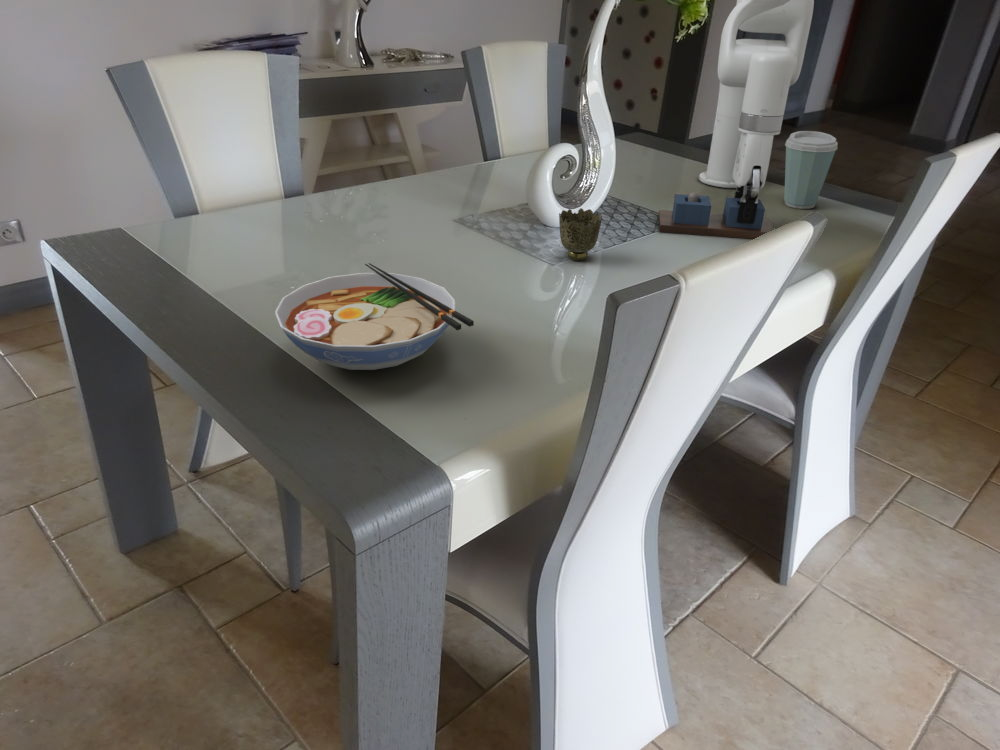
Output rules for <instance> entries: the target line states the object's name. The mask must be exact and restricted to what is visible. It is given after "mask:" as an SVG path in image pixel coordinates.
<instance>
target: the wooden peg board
mask: <svg viewBox="0 0 1000 750" xmlns="http://www.w3.org/2000/svg"><path fill="white" fill-rule="evenodd" d="M688 195H689V196H688V202H698V199H699V196H700V195H699V193H698V192H696V191H692V192H690V193H689V194H688ZM740 202H742V198H741V200H740ZM672 213H673V210H665V209H658V214H657V219H658V231H659V233H664V234H665V233H666V234H679V235H681V234H682V235H693V236H708V237H721V238H732V239H733V238H735V239H738V238H739V239H747V240H748V239H749V240H756V239H755V238H757V237H759V236H761V235H763V234H765V233H767V232H769V231H772V230H774V229H775V227H774V225H773V222H772V221H771V219H770V217H766V216H764V217H763V222H762V227H761V229H752V228H751V229H750V228H736V227H726V224H725V222H724V219H723V213H711V212H710V218H709V224H708V226H706V225H692V224H678V223H674V220H673V214H672Z"/></svg>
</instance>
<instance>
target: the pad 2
mask: <svg viewBox="0 0 1000 750" xmlns="http://www.w3.org/2000/svg"><path fill="white" fill-rule="evenodd" d="M740 200H741V198H734V197H725V202H724V208H723V212H722V214H723V219H724V222H725V224H726V227H736V228H750V229H751V228H752V229H761V227H762V222H763V217H765V212H766V208H765V206H764V205H763V202H762V201H761V199H758V205H757V210H756V215H755V220H754V223H753V224H746V223H738V222H737V216H738V211H739V206H740Z"/></svg>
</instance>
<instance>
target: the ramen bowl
mask: <svg viewBox="0 0 1000 750" xmlns="http://www.w3.org/2000/svg"><path fill="white" fill-rule="evenodd" d="M364 265H365V266H366V267H367V268H368V269H370V270H372V271H373V272H357V273H349V274H342V275H334V276H328V277H325V278H321V279H318V280H316V281H313V282H309V283H307V284H303V285H301V286H299V287H298V288H296V289H294V290H293V291H291V292H290V293H288V294H286V295H285V296H283V297H282V298H281V299H280V301H279V303H278V305H277V307H276V308H275V310H274V315H275V317H276V320H277V322H278V324H279V327H280V329H281V330H282V332H283V333H284V334H285V335H286V337H287V338H288V339H289V340H290V341H291V342H292V343H293V344H294V345H295V346H296V347H297V348H298V349H300V350H301V351H302V352H304V353H305V354H306V355H308V356H310V357H312V358H314V359H315V360H317V361H319V362H321V363H322V364H326V365H328V366H332V367H337V368H340V369H346V370H349V371H359V370H360V371H376V370H381V369H386V368H391V367H392V368H393V367H397V366H399V365H402V364H404V363H406V362H409V361H412V360H413V359H415V358H417V357H420V356H421V355H423V354H424V353H425V352H426V351H427V350H428V349H429V348H430V347H432V346H433V344H435V343H436V342H437V340H439V339H440V337H441V336H442V335H444V333H445V331H446V330H447V328H448V327H449V326H450V327H452V328H453V329H454V330H456V331H459V330H462V324H461V323H463V324H464V325H465V326H467V327H469V328H470V327H474V322H475V321H474V320H473V319H471V318H470V317H467V316H466V315H464V314H462V313H461V312H459V311H457V310H456V299H455V298H454V297H453V296H452V295H451V293H450V292H448V290H447V289H446V288H445V287H444V286H441V285H439V284H436V283H434V282H431V281H429V280H428V279H425V278H422V277H418V276H412V275H406V274H401V273H396V272H395V273H394V272H386V271H384V270H382V269H381V268H379V267H377V266H376V265H374V264H372V263H370V262H368V264H367V263H365V264H364ZM454 318H455V319H456V320H455V319H454ZM457 320H458V321H457ZM459 321H460V322H459Z"/></svg>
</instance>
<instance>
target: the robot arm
mask: <svg viewBox="0 0 1000 750" xmlns="http://www.w3.org/2000/svg"><path fill="white" fill-rule="evenodd" d="M814 4H815V0H736V5H735V6H734V7H733V9H732V10H731V12H730V13H729V15H728V16H727V18H726V21H725V23H724V25H723V28H722V32H721V36H720V41H719V42H720V44H719V49H718V50H719V52H718V59H717V61H718V62H717V79H718V80H719V81H718V82H719V89H718V97H717V98H718V99H717V105H716V112H715V118H714V124H713V131H712V136H711V143H710V148H709V156H708V162H707V167H706V171H702V172H700V173H699V176H698V180H699V182H701V183H702V184H705V185H708V186H712V187H717V188H723V189H736V191H735V192H734V197H733V198H742V202H740V206H739V211H738V216H737V222H738V223H746V224H753V223H754V220H755V215H756V210H757V205H758V200H759V197H760V196H759V195H760V190H761V189H762V188H764V187H765V184H766V180H767V176H768V171H769V166H770V161H771V155H772V148H773V142H774V137H775V136H778V135H780V134H781V131H782V125H783V119H784V115H785V110H786V105H787V102H788V95H789V90H790V87H791V86H793V85H794V84H796V82H798V79H799V77H800V74H801V71H802V67H803V63H804V59H805V53H806V49H807V45H808V39H809V35H810V29H811V25H812V21H813V20H812V19H813V13H814V7H815V5H814ZM738 31H742V32H746V33H760V34H780V35H783V36H784V38H785V39H784V40H779V39H778V40H776V39H774V40H773V39H763V38H761V39H759V38H757V39H756V38H740V39H737V35H738Z"/></svg>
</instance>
